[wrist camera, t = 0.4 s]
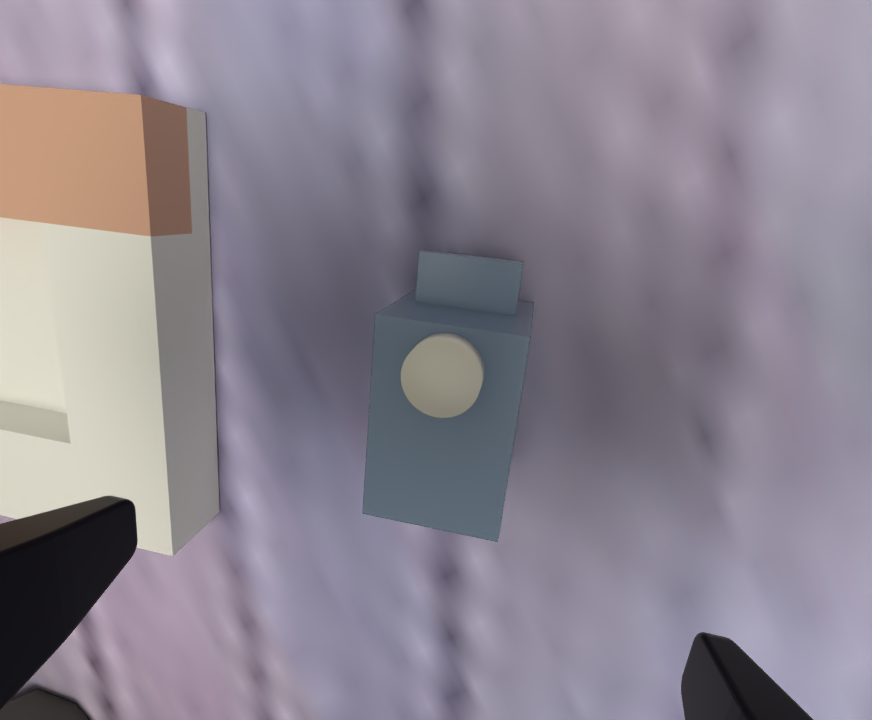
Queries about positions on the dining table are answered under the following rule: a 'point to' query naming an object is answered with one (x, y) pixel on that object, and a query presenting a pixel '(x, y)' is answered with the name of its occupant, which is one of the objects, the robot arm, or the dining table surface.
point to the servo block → (447, 395)
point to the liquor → (41, 708)
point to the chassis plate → (106, 309)
